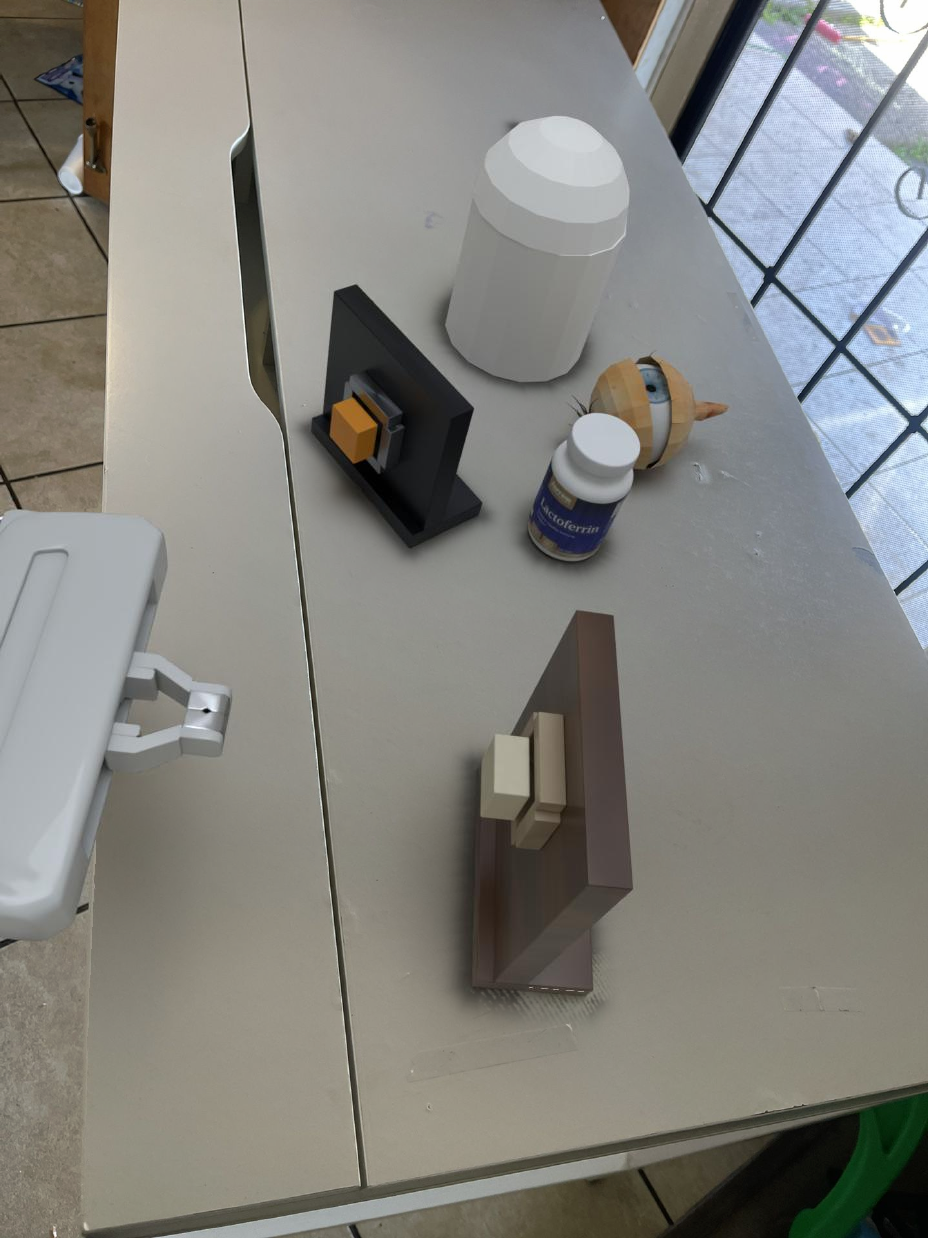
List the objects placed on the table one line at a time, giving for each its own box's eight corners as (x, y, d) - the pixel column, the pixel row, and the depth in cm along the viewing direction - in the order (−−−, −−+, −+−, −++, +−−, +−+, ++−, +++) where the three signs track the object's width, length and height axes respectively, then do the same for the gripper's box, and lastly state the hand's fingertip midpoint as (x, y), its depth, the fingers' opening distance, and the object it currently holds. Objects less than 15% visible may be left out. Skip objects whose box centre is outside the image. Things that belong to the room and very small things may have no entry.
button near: (479, 817, 47) (493, 792, 44) (481, 760, 48) (494, 733, 46) (514, 821, 47) (530, 796, 44) (514, 763, 49) (529, 737, 46)
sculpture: (554, 348, 75) (730, 315, 76) (546, 414, 84) (705, 384, 85) (583, 444, 72) (767, 408, 73) (571, 502, 80) (737, 470, 81)
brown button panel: (466, 986, 54) (557, 882, 38) (472, 767, 62) (550, 605, 46) (585, 996, 55) (723, 898, 39) (577, 779, 63) (689, 625, 47)
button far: (353, 464, 68) (357, 433, 65) (329, 436, 69) (332, 404, 66) (373, 455, 68) (378, 424, 66) (349, 428, 69) (353, 396, 67)
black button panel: (406, 550, 71) (436, 424, 60) (307, 431, 76) (317, 295, 65) (479, 514, 74) (519, 389, 63) (379, 403, 79) (401, 269, 68)
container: (481, 393, 82) (539, 185, 66) (421, 297, 88) (460, 84, 72) (605, 369, 88) (687, 170, 71) (540, 280, 93) (602, 77, 77)
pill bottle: (515, 545, 73) (553, 448, 64) (538, 492, 77) (576, 394, 68) (590, 576, 73) (637, 483, 64) (609, 521, 77) (657, 426, 68)
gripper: (-2, 544, 49) (261, 580, 51) (-160, 937, 38) (187, 964, 40) (-31, 463, 44) (262, 507, 46) (-225, 889, 32) (178, 923, 34)
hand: (227, 721), depth 43 cm, fingers closed
